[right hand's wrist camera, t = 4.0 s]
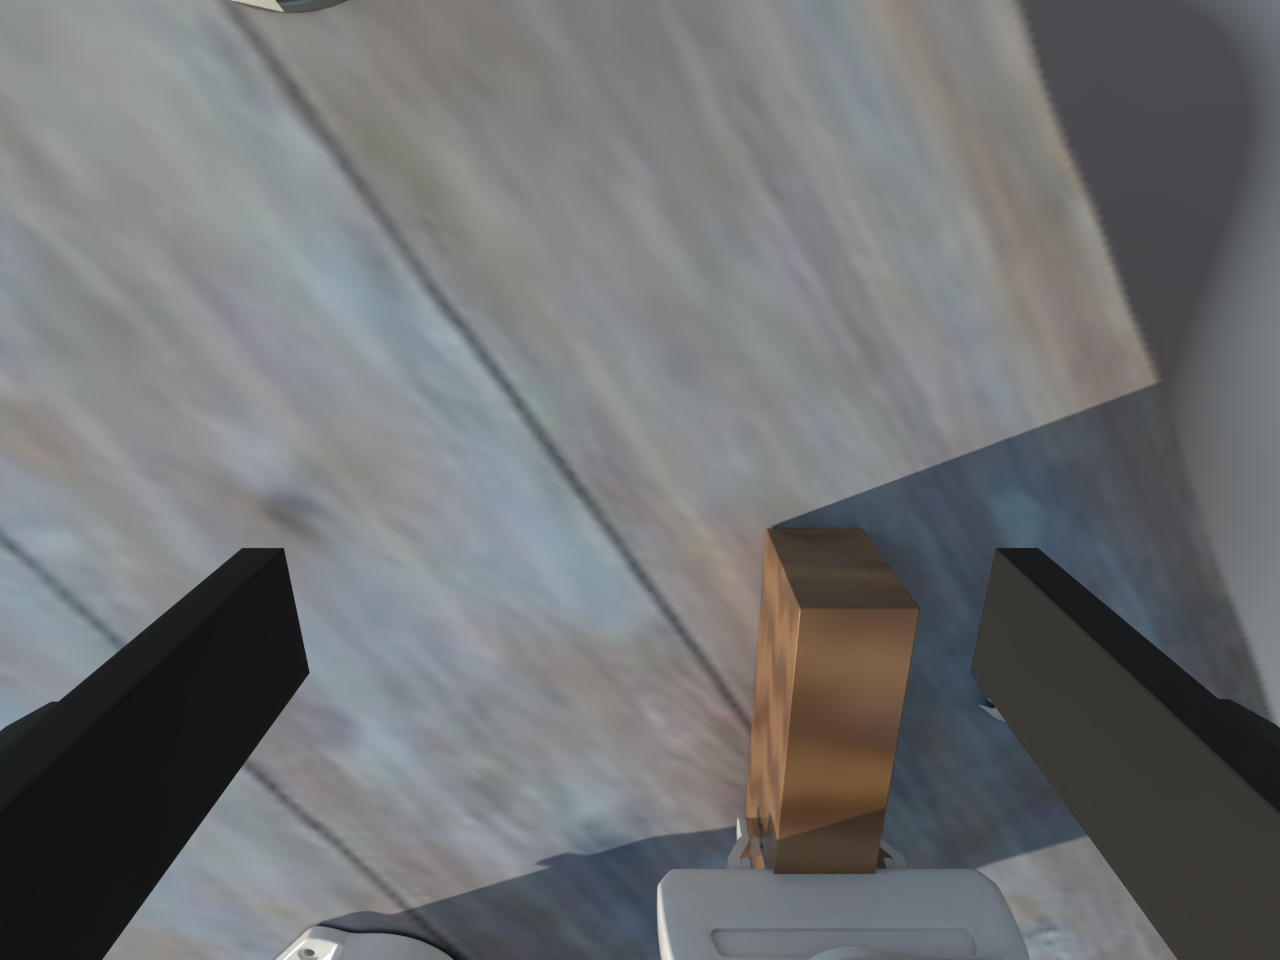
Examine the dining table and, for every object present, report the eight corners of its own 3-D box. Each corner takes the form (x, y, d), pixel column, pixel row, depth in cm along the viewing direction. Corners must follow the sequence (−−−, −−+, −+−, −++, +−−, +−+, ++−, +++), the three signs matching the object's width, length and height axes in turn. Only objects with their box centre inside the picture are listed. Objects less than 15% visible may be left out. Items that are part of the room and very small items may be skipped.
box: (766, 528, 44) (799, 608, 35) (862, 528, 44) (920, 608, 35) (744, 820, 52) (767, 944, 43) (824, 820, 52) (863, 944, 43)
